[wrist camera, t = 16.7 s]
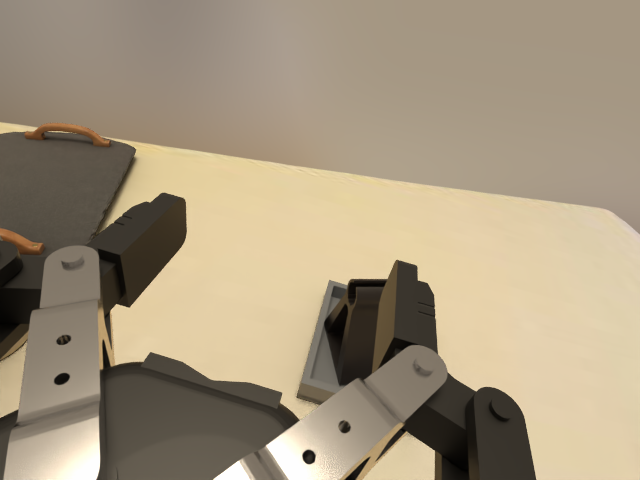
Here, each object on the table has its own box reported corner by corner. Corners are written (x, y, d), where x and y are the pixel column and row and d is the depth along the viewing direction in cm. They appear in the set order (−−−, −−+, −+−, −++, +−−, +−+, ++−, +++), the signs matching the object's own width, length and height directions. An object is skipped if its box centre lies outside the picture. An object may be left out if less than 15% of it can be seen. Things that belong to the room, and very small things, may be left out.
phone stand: (386, 382, 44) (423, 316, 37) (338, 386, 42) (366, 317, 35) (365, 322, 51) (393, 256, 43) (323, 323, 49) (344, 254, 42)
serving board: (78, 290, 47) (67, 253, 43) (-155, 285, 42) (-190, 243, 38) (142, 153, 77) (139, 124, 73) (11, 139, 71) (1, 107, 67)
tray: (296, 397, 41) (301, 382, 39) (325, 294, 54) (329, 280, 53) (415, 434, 40) (425, 420, 39) (415, 321, 54) (422, 307, 52)
